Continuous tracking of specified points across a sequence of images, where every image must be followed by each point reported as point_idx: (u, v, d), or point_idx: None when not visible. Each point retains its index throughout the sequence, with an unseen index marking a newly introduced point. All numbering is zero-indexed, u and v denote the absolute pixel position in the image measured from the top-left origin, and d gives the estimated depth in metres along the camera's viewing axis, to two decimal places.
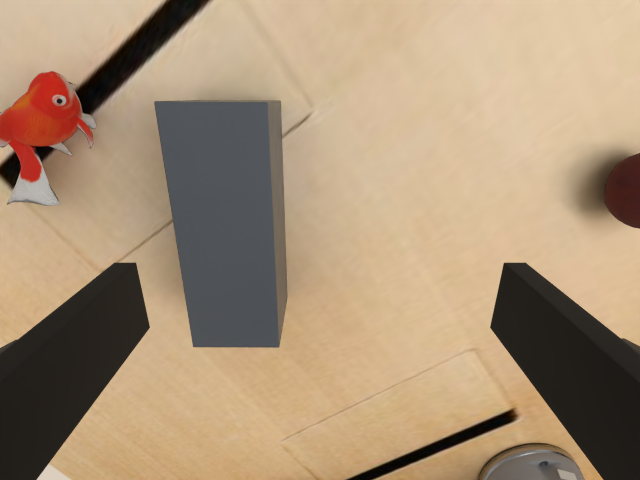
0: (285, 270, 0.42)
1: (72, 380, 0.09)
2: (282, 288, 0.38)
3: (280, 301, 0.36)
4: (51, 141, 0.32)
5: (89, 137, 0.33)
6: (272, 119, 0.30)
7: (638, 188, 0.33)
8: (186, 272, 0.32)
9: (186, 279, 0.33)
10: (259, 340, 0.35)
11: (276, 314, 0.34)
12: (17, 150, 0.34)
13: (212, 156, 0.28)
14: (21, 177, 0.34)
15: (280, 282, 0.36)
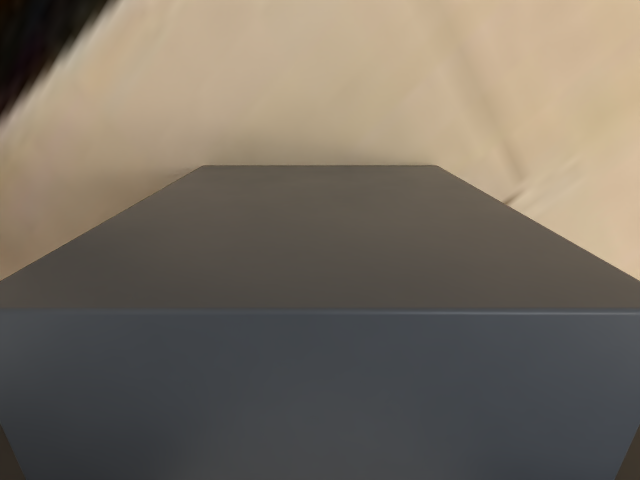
0: None
1: None
2: None
3: None
4: None
5: None
6: None
7: None
8: None
9: None
10: None
11: None
12: None
13: None
14: None
15: None
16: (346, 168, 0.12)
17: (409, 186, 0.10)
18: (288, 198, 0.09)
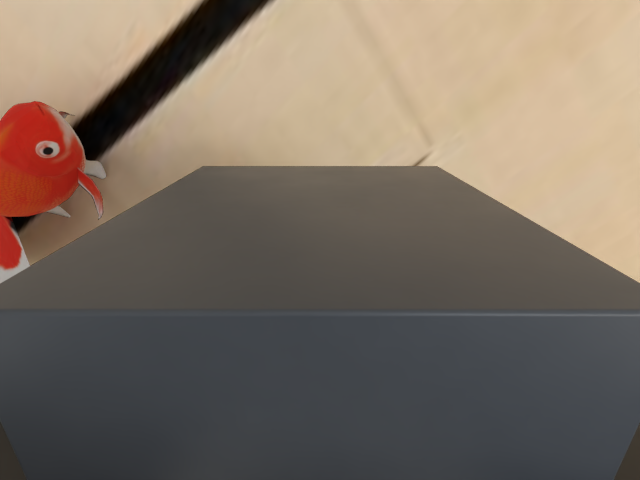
0: None
1: None
2: None
3: None
4: (36, 210, 0.20)
5: (97, 199, 0.21)
6: None
7: None
8: None
9: None
10: None
11: None
12: None
13: None
14: None
15: None
16: (346, 169, 0.12)
17: (409, 187, 0.10)
18: (288, 199, 0.09)
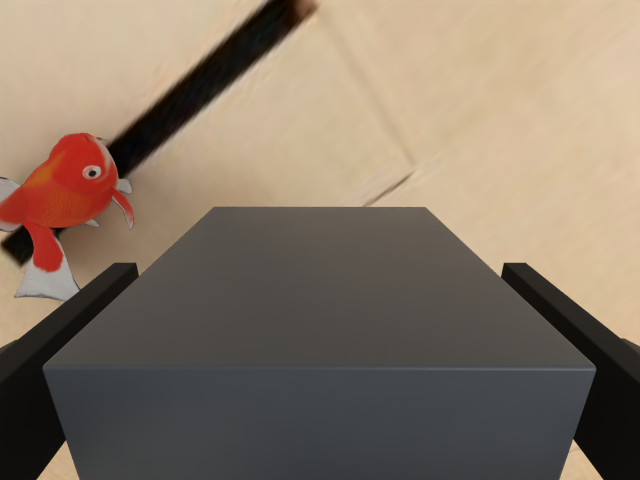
0: None
1: None
2: None
3: None
4: (77, 222, 0.24)
5: (127, 213, 0.25)
6: None
7: None
8: None
9: None
10: None
11: None
12: (30, 228, 0.26)
13: None
14: (34, 264, 0.25)
15: None
16: (343, 210, 0.14)
17: (397, 234, 0.11)
18: (292, 248, 0.10)
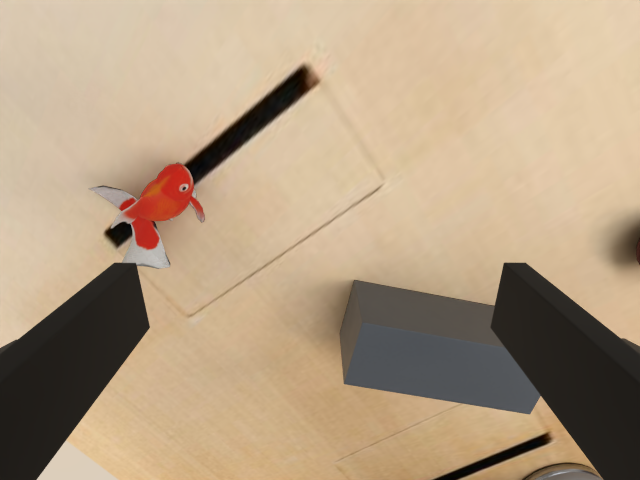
0: (491, 309, 0.47)
1: (71, 380, 0.09)
2: None
3: None
4: (169, 217, 0.38)
5: (198, 211, 0.39)
6: (371, 312, 0.40)
7: None
8: (465, 400, 0.42)
9: (470, 402, 0.42)
10: None
11: None
12: (134, 221, 0.40)
13: (387, 362, 0.40)
14: (138, 244, 0.40)
15: None
16: (348, 303, 0.47)
17: (353, 305, 0.44)
18: (347, 332, 0.44)
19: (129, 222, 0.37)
